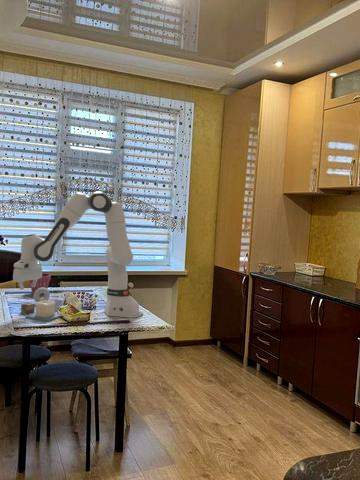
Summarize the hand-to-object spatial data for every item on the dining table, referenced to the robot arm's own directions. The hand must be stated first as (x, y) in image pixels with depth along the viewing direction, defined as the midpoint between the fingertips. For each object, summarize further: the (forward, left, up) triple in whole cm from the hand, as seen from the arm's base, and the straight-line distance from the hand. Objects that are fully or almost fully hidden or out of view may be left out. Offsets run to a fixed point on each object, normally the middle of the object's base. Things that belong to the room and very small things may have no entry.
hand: (27, 288), depth 246 cm
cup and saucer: (-14, +3, -14) cm, 20 cm away
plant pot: (+27, -44, -14) cm, 54 cm away
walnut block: (0, 0, -14) cm, 14 cm away
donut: (+7, -21, -14) cm, 26 cm away
